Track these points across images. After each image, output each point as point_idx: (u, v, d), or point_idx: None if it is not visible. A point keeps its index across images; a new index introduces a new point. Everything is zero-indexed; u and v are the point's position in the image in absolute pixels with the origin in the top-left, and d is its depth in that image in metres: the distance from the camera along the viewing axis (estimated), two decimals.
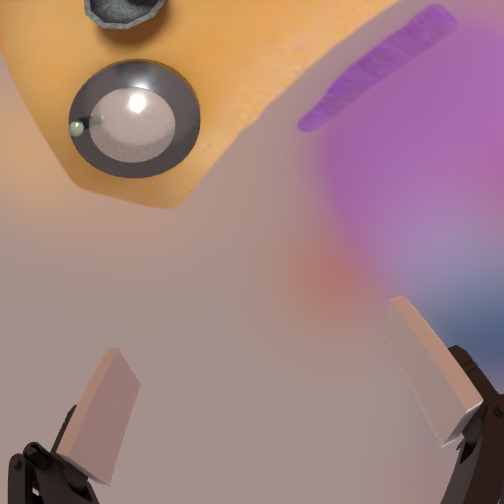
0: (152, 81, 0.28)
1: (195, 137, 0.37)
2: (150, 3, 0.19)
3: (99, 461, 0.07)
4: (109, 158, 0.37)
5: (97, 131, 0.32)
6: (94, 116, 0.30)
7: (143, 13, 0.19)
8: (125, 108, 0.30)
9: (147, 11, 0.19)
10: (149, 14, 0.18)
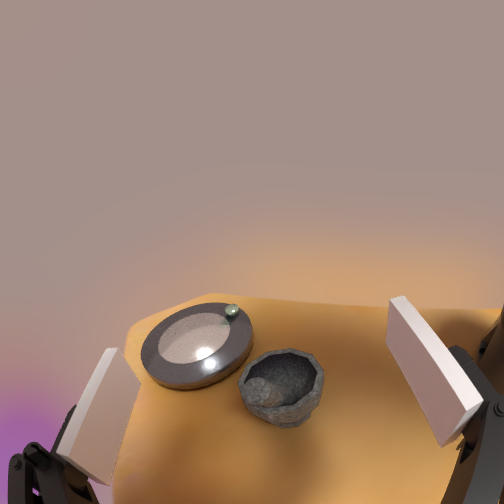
0: (202, 366, 0.37)
1: (143, 362, 0.40)
2: None
3: (99, 461, 0.07)
4: (194, 313, 0.51)
5: (215, 319, 0.47)
6: (224, 324, 0.46)
7: None
8: (206, 341, 0.42)
9: None
10: (242, 382, 0.29)
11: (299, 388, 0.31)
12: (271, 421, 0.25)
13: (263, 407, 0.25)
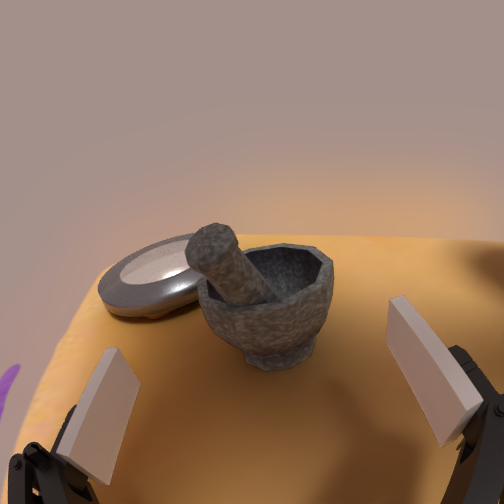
0: (164, 284, 0.29)
1: (99, 287, 0.32)
2: None
3: (99, 461, 0.07)
4: (172, 242, 0.42)
5: None
6: None
7: (225, 301, 0.22)
8: (177, 261, 0.33)
9: None
10: (204, 279, 0.20)
11: None
12: (242, 339, 0.16)
13: (228, 306, 0.16)
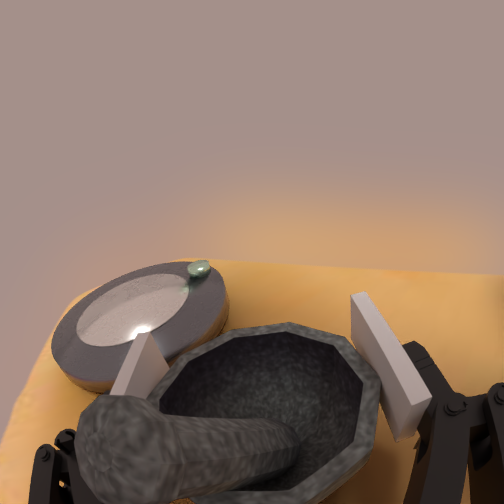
0: (123, 353, 0.19)
1: (54, 338, 0.22)
2: None
3: None
4: (145, 275, 0.32)
5: (170, 282, 0.29)
6: (182, 288, 0.27)
7: (196, 414, 0.12)
8: (144, 313, 0.24)
9: None
10: (157, 397, 0.10)
11: (306, 419, 0.13)
12: None
13: None
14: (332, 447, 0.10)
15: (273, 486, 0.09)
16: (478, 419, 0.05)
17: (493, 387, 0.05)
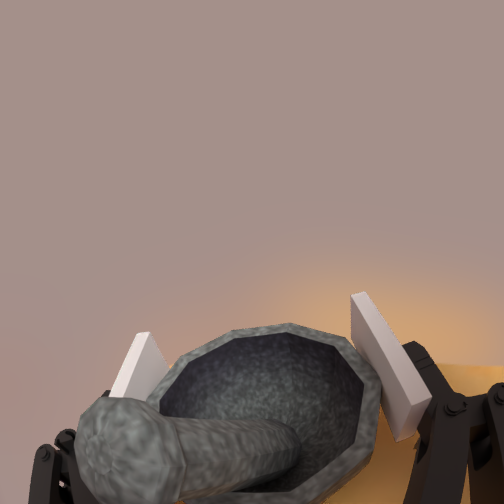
0: None
1: None
2: None
3: None
4: None
5: None
6: None
7: (197, 415, 0.12)
8: None
9: None
10: (157, 398, 0.10)
11: (306, 420, 0.12)
12: None
13: None
14: (333, 448, 0.10)
15: (273, 487, 0.09)
16: (478, 419, 0.05)
17: (493, 387, 0.05)
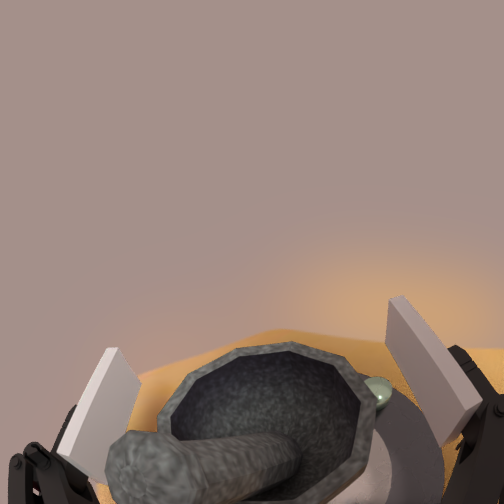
0: None
1: None
2: None
3: (99, 461, 0.07)
4: None
5: None
6: None
7: (204, 427, 0.12)
8: None
9: (201, 435, 0.12)
10: (167, 415, 0.11)
11: (307, 430, 0.13)
12: None
13: None
14: (331, 457, 0.10)
15: (277, 493, 0.10)
16: None
17: None
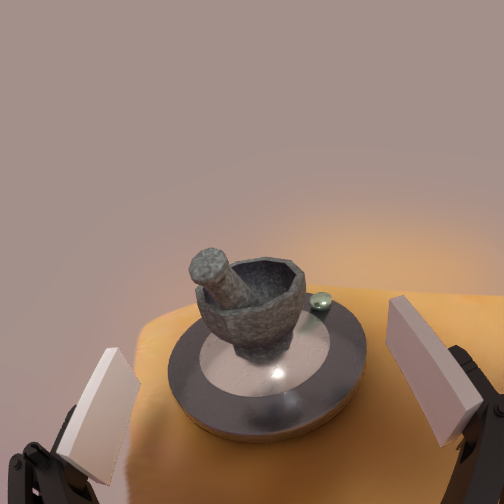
0: (297, 400, 0.19)
1: (175, 391, 0.22)
2: None
3: (99, 461, 0.07)
4: None
5: None
6: (314, 323, 0.28)
7: (218, 305, 0.26)
8: (291, 353, 0.24)
9: None
10: (201, 288, 0.25)
11: None
12: (232, 335, 0.21)
13: (221, 309, 0.21)
14: None
15: None
16: None
17: None
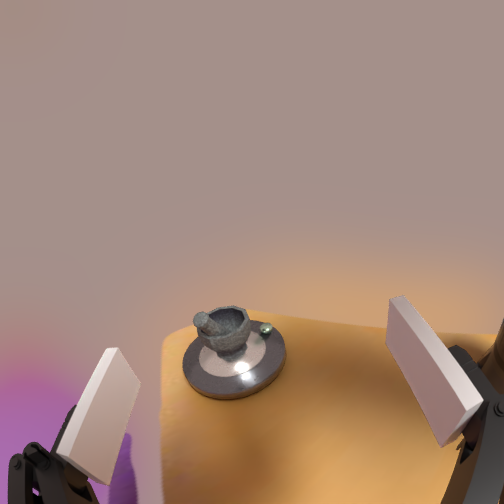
0: (243, 379, 0.43)
1: (186, 374, 0.46)
2: None
3: (99, 461, 0.07)
4: None
5: (251, 336, 0.53)
6: (260, 341, 0.51)
7: None
8: (244, 356, 0.48)
9: None
10: None
11: None
12: (213, 347, 0.45)
13: (208, 336, 0.45)
14: None
15: None
16: None
17: None
